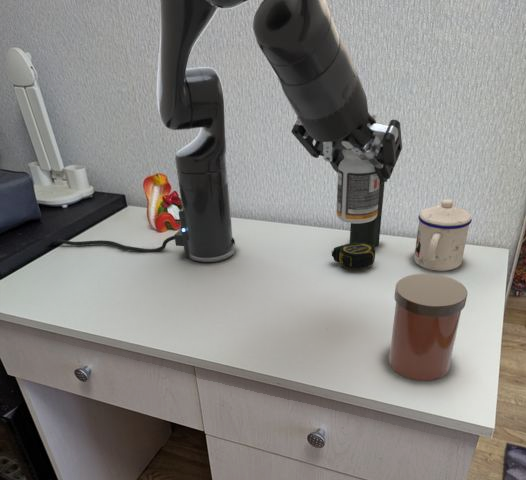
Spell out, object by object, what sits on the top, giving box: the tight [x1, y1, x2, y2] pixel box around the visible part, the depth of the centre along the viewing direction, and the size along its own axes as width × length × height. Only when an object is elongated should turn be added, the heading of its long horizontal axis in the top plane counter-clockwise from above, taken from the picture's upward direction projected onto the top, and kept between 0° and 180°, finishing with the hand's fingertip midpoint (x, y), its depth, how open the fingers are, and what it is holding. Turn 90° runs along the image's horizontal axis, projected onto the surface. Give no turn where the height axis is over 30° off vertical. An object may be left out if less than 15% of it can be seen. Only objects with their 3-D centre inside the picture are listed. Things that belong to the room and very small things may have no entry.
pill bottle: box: [336, 145, 380, 224], centre depth 66 cm, size 6×6×10 cm
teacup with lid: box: [413, 198, 473, 272], centre depth 89 cm, size 12×9×12 cm
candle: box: [349, 112, 386, 249], centre depth 93 cm, size 5×5×25 cm
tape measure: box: [331, 242, 376, 270], centre depth 93 cm, size 7×7×4 cm
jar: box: [388, 273, 468, 382], centre depth 65 cm, size 9×9×12 cm
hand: (364, 172), depth 67 cm, fingers closed on pill bottle, 5 cm apart
